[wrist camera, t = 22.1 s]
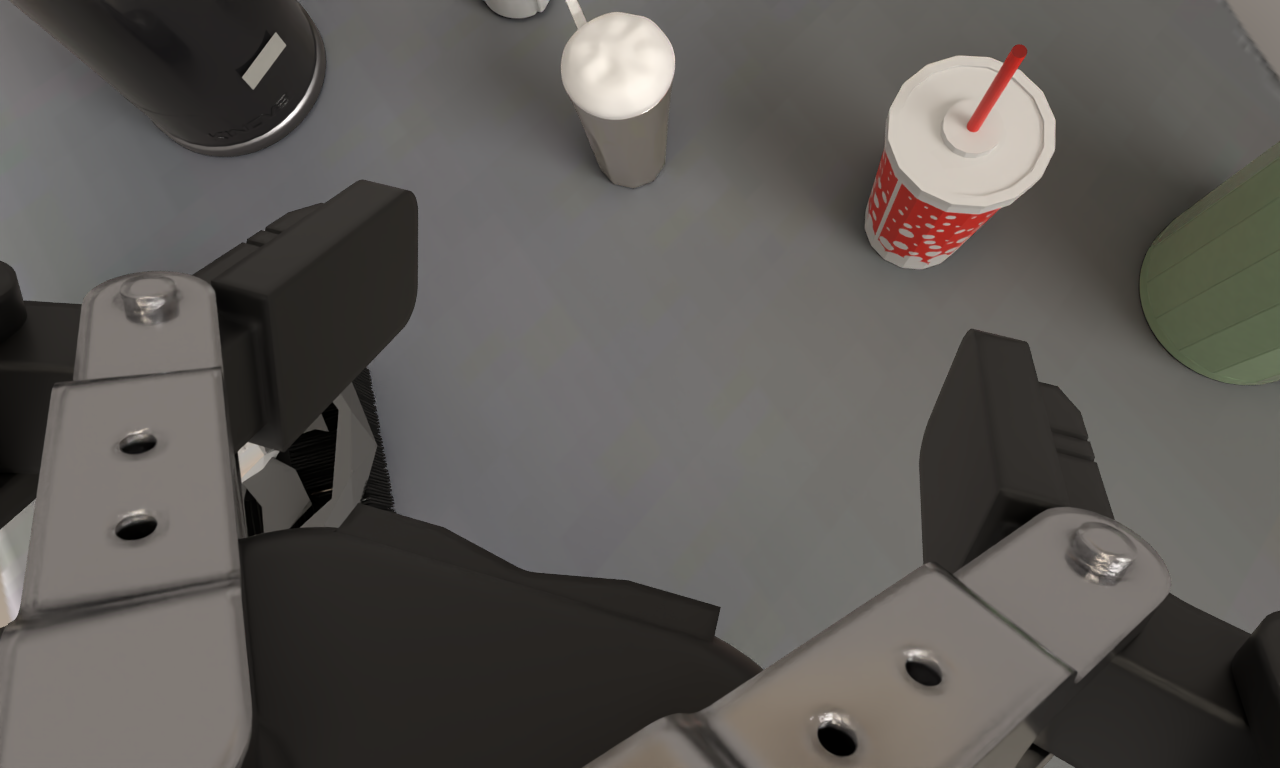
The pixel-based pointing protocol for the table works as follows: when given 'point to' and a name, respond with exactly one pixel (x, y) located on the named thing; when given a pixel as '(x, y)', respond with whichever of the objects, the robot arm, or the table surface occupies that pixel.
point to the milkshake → (621, 91)
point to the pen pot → (1221, 279)
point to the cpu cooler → (319, 468)
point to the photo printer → (517, 7)
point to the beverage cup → (956, 155)
